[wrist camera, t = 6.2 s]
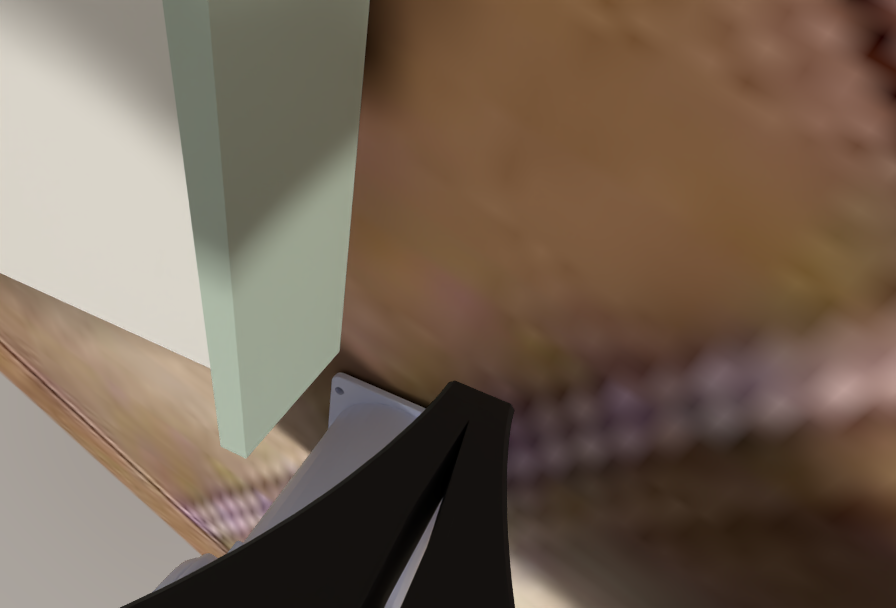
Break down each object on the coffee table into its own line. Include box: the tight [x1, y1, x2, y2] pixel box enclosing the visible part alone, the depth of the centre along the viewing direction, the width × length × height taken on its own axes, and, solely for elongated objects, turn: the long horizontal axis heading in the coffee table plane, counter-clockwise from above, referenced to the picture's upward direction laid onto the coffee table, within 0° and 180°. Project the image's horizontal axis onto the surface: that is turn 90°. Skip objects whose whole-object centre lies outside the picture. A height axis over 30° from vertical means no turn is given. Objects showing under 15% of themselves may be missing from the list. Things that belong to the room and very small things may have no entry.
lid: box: [0, 0, 370, 458], centre depth 16 cm, size 14×20×6 cm
